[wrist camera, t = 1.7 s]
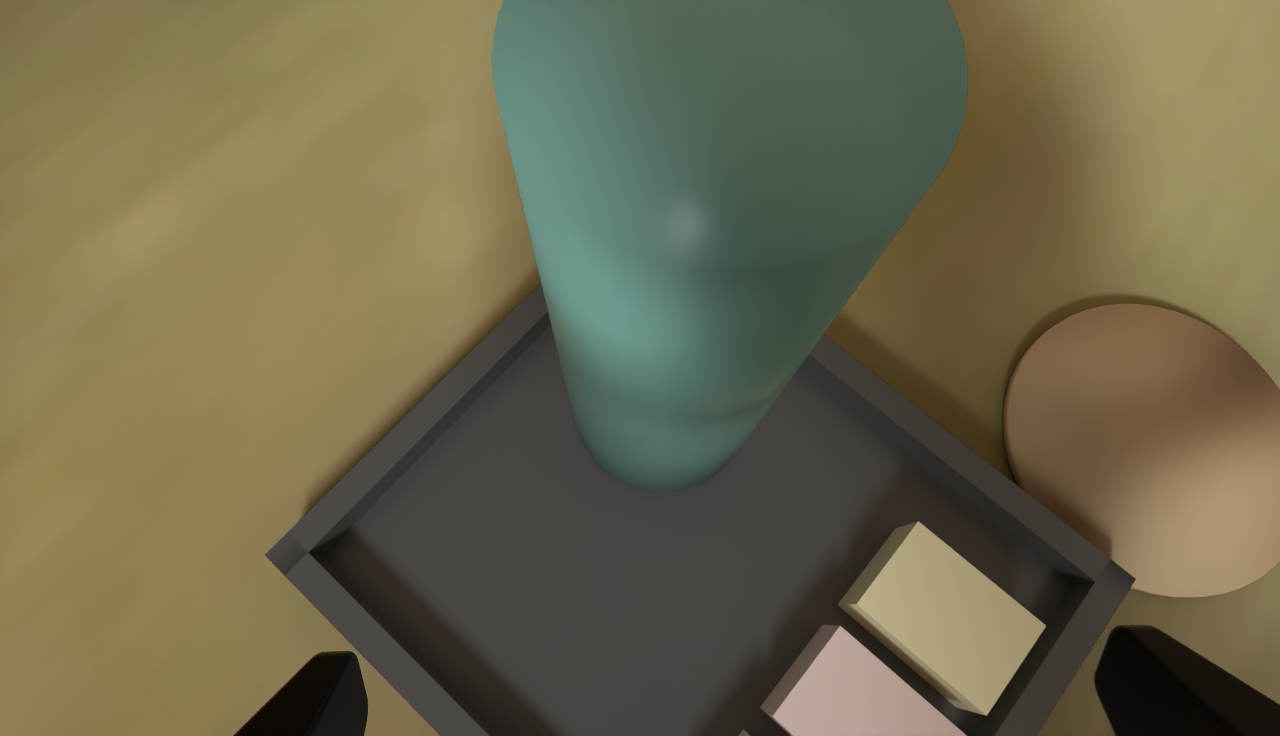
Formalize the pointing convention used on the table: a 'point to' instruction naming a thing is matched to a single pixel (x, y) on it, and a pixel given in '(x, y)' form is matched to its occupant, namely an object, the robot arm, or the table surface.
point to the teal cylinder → (712, 196)
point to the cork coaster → (1151, 446)
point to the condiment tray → (698, 568)
